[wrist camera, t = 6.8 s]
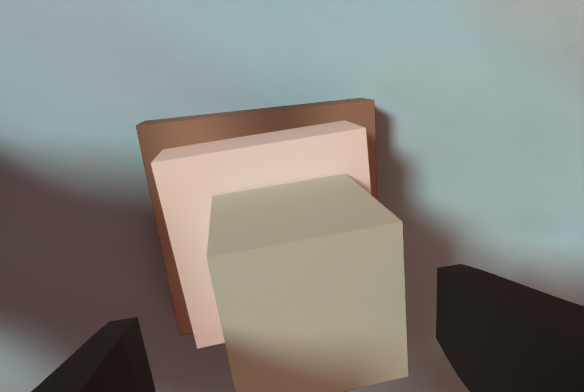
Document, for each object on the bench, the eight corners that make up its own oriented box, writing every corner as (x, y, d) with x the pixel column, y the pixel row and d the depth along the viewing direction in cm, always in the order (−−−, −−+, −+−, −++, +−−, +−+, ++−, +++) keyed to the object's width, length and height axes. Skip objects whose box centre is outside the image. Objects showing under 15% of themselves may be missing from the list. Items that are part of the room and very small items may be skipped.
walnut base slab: (185, 303, 19) (179, 335, 17) (149, 118, 17) (135, 125, 14) (362, 275, 20) (380, 301, 18) (355, 96, 18) (374, 100, 15)
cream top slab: (201, 310, 17) (197, 348, 14) (163, 149, 15) (150, 162, 12) (360, 278, 18) (380, 309, 15) (344, 120, 15) (365, 127, 13)
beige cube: (235, 313, 14) (240, 416, 10) (212, 196, 13) (206, 258, 9) (355, 288, 15) (408, 376, 11) (345, 173, 13) (402, 221, 9)
